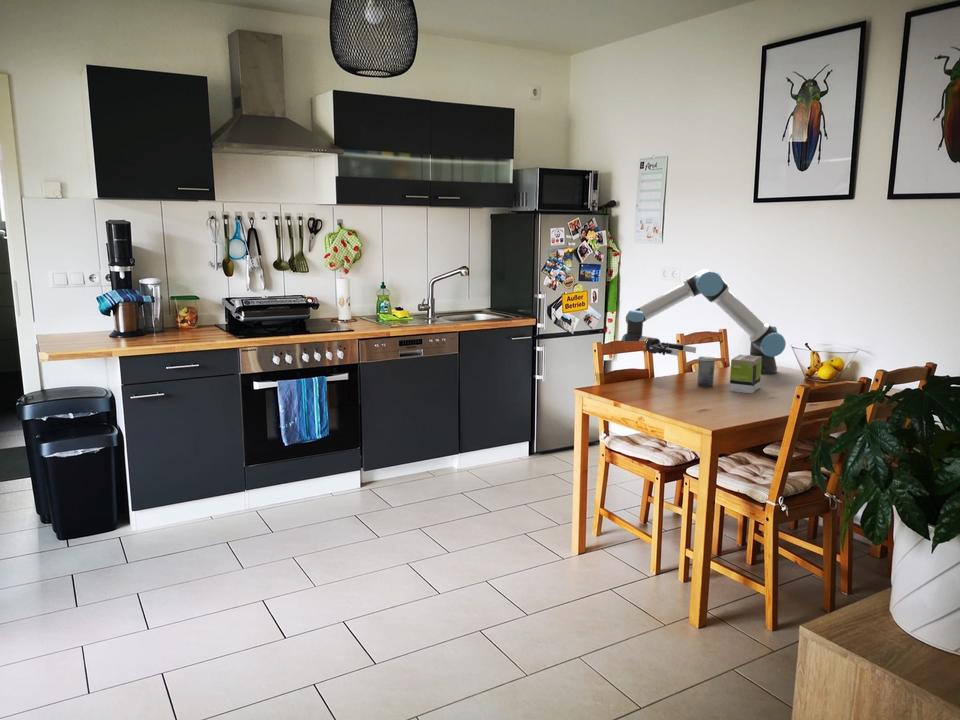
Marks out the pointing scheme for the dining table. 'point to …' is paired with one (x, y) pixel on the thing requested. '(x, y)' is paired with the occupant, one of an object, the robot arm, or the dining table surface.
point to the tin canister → (706, 371)
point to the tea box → (745, 373)
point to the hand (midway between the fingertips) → (687, 351)
